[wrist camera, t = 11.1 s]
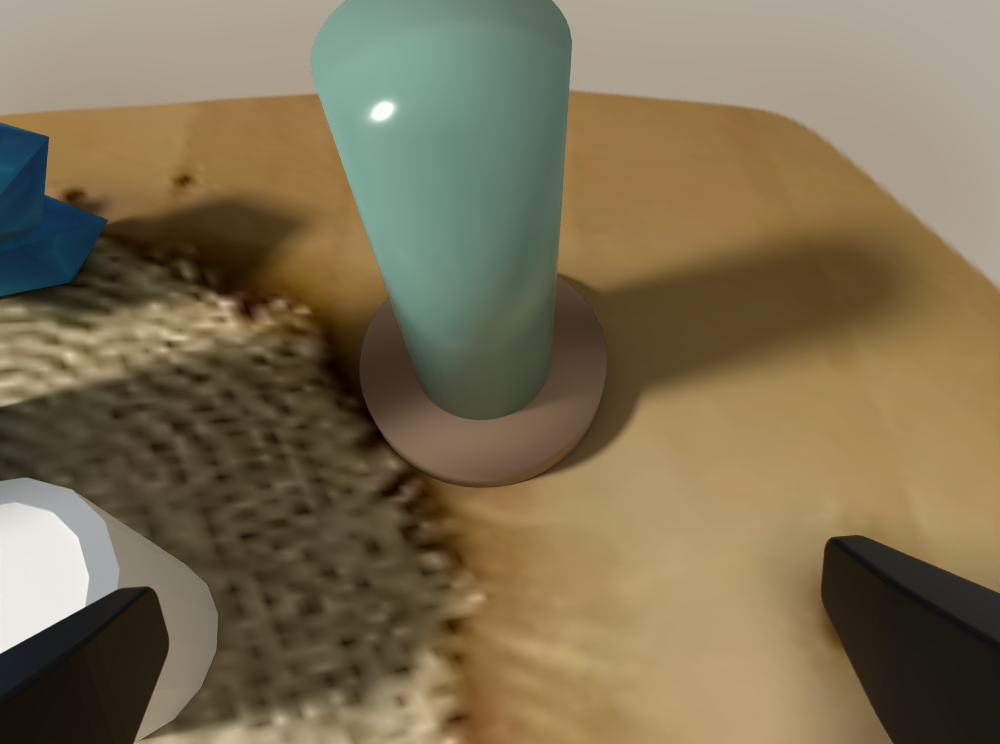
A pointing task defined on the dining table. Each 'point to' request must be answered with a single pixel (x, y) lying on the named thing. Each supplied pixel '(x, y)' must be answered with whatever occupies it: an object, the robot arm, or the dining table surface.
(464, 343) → the teal rounded cylinder
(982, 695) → the robot arm
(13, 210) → the crystal
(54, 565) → the white cup
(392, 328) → the walnut base
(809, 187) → the dining table surface
